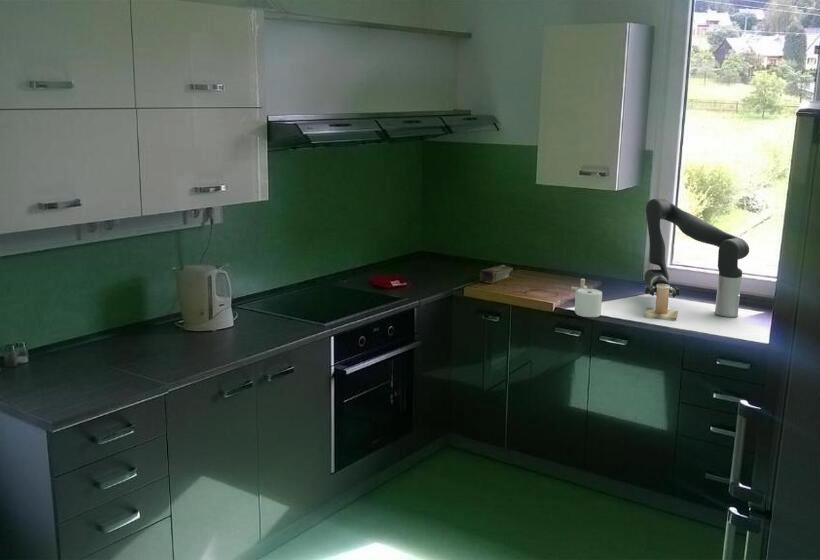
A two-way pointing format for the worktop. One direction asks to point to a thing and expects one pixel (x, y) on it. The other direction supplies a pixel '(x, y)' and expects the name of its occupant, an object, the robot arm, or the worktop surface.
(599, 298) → the toilet tissue
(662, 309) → the terracotta jar
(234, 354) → the worktop surface
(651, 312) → the birch board
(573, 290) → the pipe connector
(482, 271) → the beverage carton
